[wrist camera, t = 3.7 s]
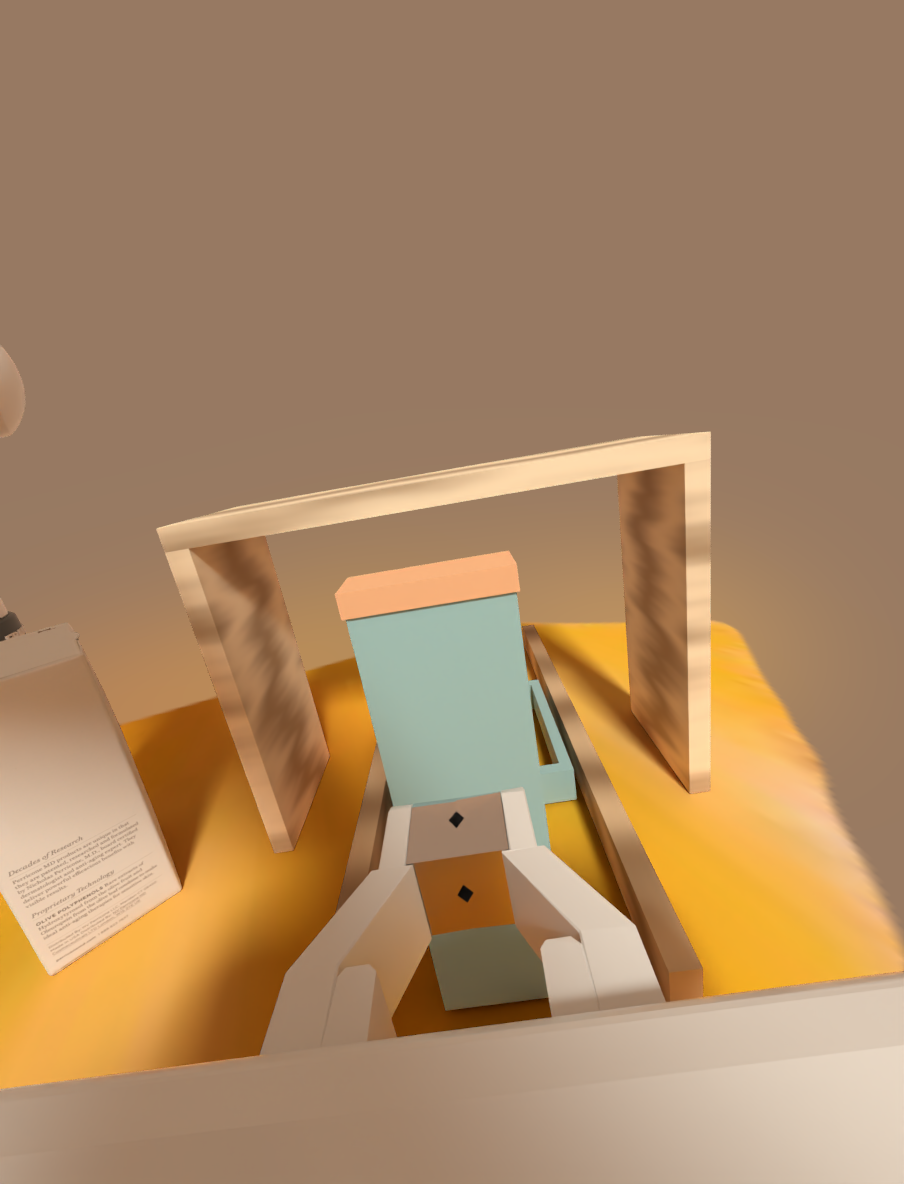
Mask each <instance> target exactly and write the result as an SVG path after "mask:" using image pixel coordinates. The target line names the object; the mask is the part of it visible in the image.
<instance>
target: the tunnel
mask: <svg viewBox="0 0 904 1184" xmlns="http://www.w3.org/2000/svg"><path fill="white" fill-rule="evenodd" d="M710 464H711V432H701V433H687V434H672V435H658V436H643V437H632V438H626V439H621V440H615V441H609V442H603V443H598V444H592V445H586V446H580V447H575V448H569V449H563V450H558V451H552V452H546V453H540V454H535V455H529V456H524V457H518V458H512V459H506V460H500V461H495V462H489V463H483V464H478V465H472V466H467V467H460V468H455V469H449V470H443V471H438V472H432V473H426V474H420V475H415V476H409V477H404V478H398V479H392V480H386V481H381V482H375V483H369V484H363V485H358V486H352V487H346V488H341V489H335V490H329V491H323V492H318V493H312V494H307V495H301V496H295V497H289V498H283V499H278V500H272V501H266V502H261V503H255V504H249V505H244V506H238V507H234V508H231V509H227V510H223V511H220V512H216V513H212V514H208V515H205V516H201V517H197V518H194V519H190V520H186V521H183V522H179V523H175V524H172V525H167V526H164V527H160V528H157V532H158V535H159V538H160V540H161V543H162V546H163V549H164V551H165V554H166V557H167V559H168V562H169V565H170V568H171V570H172V573H173V576H174V579H175V582H176V584H177V587H178V590H179V592H180V595H181V598H182V601H183V604H184V606H185V609H186V611H187V615H188V617H189V620H190V623H191V626H192V628H193V631H194V634H195V636H196V639H197V642H198V645H199V647H200V650H201V653H202V655H203V658H204V661H205V664H206V667H207V669H208V672H209V675H210V678H211V680H212V683H213V686H214V688H215V691H216V694H217V697H218V700H219V702H220V705H221V708H222V711H223V713H224V716H225V719H226V722H227V724H228V727H229V730H230V733H231V735H232V738H233V741H234V744H235V746H236V749H237V752H238V754H239V757H240V760H241V763H242V765H243V768H244V771H245V774H246V776H247V779H248V782H249V785H250V787H251V790H252V793H253V796H254V798H255V801H256V804H257V807H258V809H259V812H260V815H261V818H262V820H263V823H264V826H265V829H266V831H267V834H268V837H269V840H270V842H271V845H272V848H273V851H274V853H279V852H286V851H293V850H294V848H295V845H296V843H297V840H298V838H299V835H300V832H301V830H302V827H303V825H304V822H305V819H306V817H307V814H308V812H309V809H310V806H311V804H312V801H313V799H314V796H315V793H316V791H317V788H318V786H319V783H320V780H321V778H322V775H323V773H324V770H325V767H326V765H327V762H328V760H329V757H330V755H329V751H328V748H327V744H326V741H325V738H324V734H323V731H322V727H321V724H320V721H319V717H318V714H317V710H316V707H315V704H314V700H313V697H312V693H311V690H310V687H309V683H308V680H307V676H306V673H305V670H304V666H303V663H302V659H301V656H300V653H299V649H298V646H297V642H296V639H295V636H294V632H293V629H292V625H291V622H290V619H289V615H288V612H287V608H286V605H285V602H284V598H283V595H282V591H281V588H280V585H279V581H278V578H277V574H276V571H275V568H274V564H273V561H272V557H271V554H270V551H269V547H268V544H267V541H266V537H265V535H270V534H277V533H282V532H288V531H293V530H300V529H306V528H311V527H317V526H323V525H328V524H334V523H340V522H346V521H352V520H358V519H363V518H369V517H375V516H381V515H386V514H393V513H398V512H404V511H410V510H416V509H421V508H428V507H433V506H439V505H445V504H451V503H457V502H462V501H468V500H474V499H479V498H486V497H492V496H497V495H503V494H509V493H514V492H521V491H526V490H532V489H537V488H544V487H550V486H555V485H561V484H567V483H573V482H579V481H584V480H590V479H596V478H602V477H607V476H614V475H617V480H618V495H619V496H618V497H619V514H620V531H621V548H622V565H623V582H624V599H625V616H626V634H627V651H628V668H629V685H630V702H631V711H632V713H633V714H634V715H635V717H636V718H637V720H638V721H639V722H640V724H641V725H642V727H643V728H644V730H645V731H646V732H647V734H648V735H649V737H650V738H651V740H652V741H653V742H654V744H655V745H656V747H657V748H658V749H659V751H660V752H661V754H662V755H663V757H664V758H665V759H666V761H667V762H668V764H669V765H670V766H671V768H672V769H673V771H674V772H675V774H676V775H677V776H678V778H679V779H680V781H681V782H682V783H683V785H684V786H685V788H686V789H687V791H688V792H689V793H690V794H692V793H699V792H706V791H710V633H711V613H710V612H711V606H710V604H711V603H710V602H711V601H710V600H711V596H710V595H711V594H710V593H711V585H710V584H711V578H710V576H711V575H710V574H711V569H710V567H711V565H710V564H711V563H710V562H711V558H710V557H711V549H710V548H711V539H710V538H711V534H710V532H711V528H710V527H711V525H710V524H711V514H710V513H711V510H710V509H711V505H710V504H711V465H710ZM522 628H523V636H524V643H525V649H526V651H527V654H528V657H529V659H530V662H531V664H532V667H533V669H534V672H535V674H536V677H537V680H539V683H540V685H541V688H542V690H543V693H544V695H545V698H546V700H547V703H548V706H549V708H550V711H551V713H552V716H553V718H554V721H555V723H556V726H557V728H558V731H559V733H560V736H561V738H562V741H563V743H564V746H565V748H566V751H567V754H568V756H569V759H570V761H571V764H572V766H573V769H574V774H575V776H576V779H577V781H578V784H579V787H580V789H581V792H582V794H583V797H584V799H585V802H586V804H587V807H588V809H589V812H590V815H591V817H592V820H593V822H594V825H595V827H596V830H597V832H598V835H599V837H600V840H601V843H602V845H603V848H604V850H605V853H606V855H607V858H608V860H609V863H610V866H611V868H612V871H613V873H614V876H615V878H616V881H617V883H618V886H619V888H620V891H621V894H622V896H623V899H624V901H625V904H626V906H627V909H628V911H629V914H630V916H631V919H632V922H633V924H634V925H636V928H637V930H638V933H639V935H640V938H641V940H642V943H643V945H644V948H645V950H646V953H647V955H648V958H649V960H650V963H651V966H652V968H653V971H654V973H655V976H656V978H657V981H658V983H659V986H660V988H661V991H662V993H663V996H664V998H665V1001H666V1002H670V1001H678V1000H685V999H693V998H701V997H703V968H702V966H701V964H700V962H699V960H698V958H697V955H696V953H695V951H694V949H693V947H692V945H691V943H690V941H689V939H688V937H687V935H686V933H685V931H684V929H683V927H682V925H681V923H680V921H679V919H678V917H677V915H676V913H675V911H674V909H673V907H672V905H671V903H670V901H669V899H668V897H667V895H666V893H665V891H664V889H663V886H662V884H661V882H660V880H659V878H658V876H657V874H656V872H655V870H654V868H653V866H652V864H651V862H650V860H649V858H648V856H647V854H646V852H645V850H644V848H643V846H642V844H641V842H640V840H639V838H638V836H637V834H636V832H635V830H634V828H633V826H632V824H631V822H630V820H629V817H628V815H627V813H626V811H625V809H624V807H623V805H622V803H621V801H620V799H619V797H618V795H617V793H616V791H615V789H614V787H613V785H612V783H611V781H610V779H609V777H608V775H607V773H606V771H605V769H604V767H603V765H602V763H601V761H600V759H599V757H598V755H597V753H596V751H595V748H594V746H593V744H592V742H591V740H590V738H589V736H588V734H587V732H586V730H585V728H584V726H583V724H582V722H581V720H580V718H579V716H578V714H577V712H576V710H575V708H574V706H573V704H572V702H571V700H570V698H569V696H568V694H567V692H566V690H565V688H564V686H563V684H562V682H561V679H560V677H559V675H558V673H557V671H556V669H555V667H554V665H553V663H552V661H551V659H550V657H549V655H548V653H547V651H546V649H545V647H544V645H543V643H542V641H541V639H540V637H539V635H538V633H537V631H536V629H535V627H534V625H529V626H522ZM391 807H393V804H392V800H391V795H390V791H389V787H388V783H387V779H386V775H385V771H384V767H383V763H382V759H381V756H380V752H379V748H378V744H377V743H376V748H375V752H374V756H373V760H372V764H371V768H370V772H369V776H368V781H367V785H366V789H365V793H364V797H363V801H362V805H361V810H360V814H359V818H358V822H357V826H356V830H355V834H354V839H353V843H352V847H351V851H350V855H349V859H348V863H347V867H346V872H345V876H344V880H343V884H342V888H341V892H340V896H339V901H338V905H337V909H336V913H337V911H338V910H339V909H340V908H341V907H342V905H343V904H344V903H345V902H346V901H347V899H348V898H349V897H350V896H351V895H352V893H353V892H354V891H355V890H356V889H357V888H358V886H359V885H360V884H361V883H362V882H363V880H364V879H365V878H366V877H367V876H368V874H369V873H370V872H371V871H373V870H378V869H379V863H380V857H381V852H382V846H383V840H384V834H385V828H386V823H387V817H388V812H389V810H390V808H391ZM336 913H335V914H336Z"/></svg>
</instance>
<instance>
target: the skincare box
mask: <svg viewBox="0 0 904 1184" xmlns="http://www.w3.org/2000/svg"><path fill="white" fill-rule="evenodd" d="M79 636H80V634H79V633H77V632H74V630H73V628H72V626H71V625H70V624H69V623H63V624H59V625H56V626H52V627H49V628H45V629H42V630H38V631H35V632H31V633H28V634H24V635H21V636H18V637H14V638H11V639H7V640H4V641H0V892H1V893H2V895H3V897H4V898H5V900H6V902H7V904H8V905H9V907H10V909H11V910H12V912H13V914H14V916H15V917H16V919H17V921H18V923H19V924H20V926H21V928H22V930H23V931H24V933H25V935H26V936H27V938H28V940H29V942H30V944H31V945H32V947H33V949H34V951H35V952H36V954H37V956H38V958H39V959H40V961H41V963H42V964H43V966H44V968H45V969H46V971H47V973H48V974H49V975H51V976H53V975H55V974H57V973H58V972H60V971H61V970H62V969H64V968H65V967H67V966H68V965H70V964H71V963H73V962H74V961H76V960H77V959H79V958H80V957H82V956H83V955H85V954H86V953H88V952H89V951H91V950H92V949H94V948H95V947H97V946H98V945H100V944H101V943H103V942H104V941H106V940H107V939H109V938H110V937H112V936H113V935H115V934H116V933H118V932H119V931H121V930H122V929H124V928H125V927H127V926H128V925H130V924H131V923H133V922H134V921H136V920H137V919H139V918H140V917H142V916H143V915H145V914H146V913H148V912H149V911H151V910H152V909H154V908H155V907H157V906H158V905H160V904H161V903H163V902H164V901H166V900H167V899H169V898H170V897H172V896H173V895H175V894H176V893H178V892H179V891H181V889H182V886H181V882H180V879H179V876H178V874H177V871H176V868H175V865H174V862H173V860H172V857H171V854H170V852H169V849H168V846H167V843H166V841H165V838H164V835H163V833H162V830H161V827H160V825H159V822H158V819H157V817H156V814H155V812H154V809H153V806H152V804H151V801H150V799H149V797H148V794H147V792H146V789H145V787H144V784H143V782H142V779H141V777H140V774H139V772H138V769H137V767H136V765H135V762H134V760H133V757H132V755H131V752H130V750H129V747H128V745H127V743H126V740H125V738H124V735H123V733H122V730H121V728H120V725H119V723H118V721H117V719H116V717H115V714H114V712H113V710H112V708H111V706H110V703H109V701H108V699H107V697H106V695H105V693H104V690H103V688H102V686H101V684H100V682H99V680H98V678H97V676H96V674H95V672H94V670H93V668H92V666H91V664H90V661H89V660H88V658H87V655H86V653H85V651H84V649H83V648H82V645H81V644H80V642H79V640H78V638H79Z"/></svg>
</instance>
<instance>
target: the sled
mask: <svg viewBox="0 0 904 1184" xmlns="http://www.w3.org/2000/svg"><path fill="white" fill-rule="evenodd" d="M519 591H520V586H519V578H518V570H517V564H516V562H515V561H514V559H513V557H512V556H511V554H510V552H509V551H504V552H498V553H492V554H486V555H480V556H474V557H468V558H462V559H456V560H450V561H444V562H438V563H432V564H426V565H420V566H414V567H408V568H402V569H396V570H390V571H384V572H378V573H372V574H366V575H360V576H354V577H348V578H347V580H346V581H345V582H344V583H343V585H342V586H341V587H340V588H339V590H338V591H337V592H336V594H335V597H336V601H337V605H338V609H339V613H340V617H341V620H346V622H347V626H348V630H349V634H350V638H351V642H352V646H353V650H354V653H355V657H356V661H357V665H358V669H359V673H360V677H361V681H362V685H363V689H364V693H365V697H366V701H367V704H368V708H369V712H370V716H371V720H372V724H373V728H374V732H375V736H376V740H377V744H378V748H379V752H380V756H381V759H382V763H383V767H384V771H385V775H386V779H387V783H388V787H389V791H390V795H391V800H392V804H393V807H395V806H403V805H410V804H415V803H422V802H430V801H438V800H446V799H453V798H461V797H467V796H473V795H479V794H485V793H492V792H498V791H500V793H501V790H506V789H512V788H518V787H523V788H524V790H525V794H526V799H527V803H528V808H529V812H530V816H531V821H532V825H533V830H534V834H535V838H536V843H537V846H542V845H545V846H546V847H547V848H548V849H549V850H550V851H551V849H550V842H549V834H548V826H547V819H546V811H545V804H548V803H555V802H562V801H569V800H576V799H577V796H576V786H575V777H574V769H573V766H572V764H571V761H570V759H569V756H568V754H567V751H566V748H565V746H564V743H563V741H562V738H561V736H560V733H559V731H558V728H557V726H556V723H555V721H554V718H553V716H552V713H551V711H550V708H549V706H548V703H547V700H546V698H545V695H544V693H543V690H542V688H541V685H540V683H539V680H531V681H528V676H527V668H526V661H525V653H524V646H523V638H522V631H521V623H520V616H519V608H518V600H517V593H516V592H519ZM532 709H535V712H536V715H537V718H538V721H539V724H540V727H541V730H542V733H543V736H544V739H545V742H546V745H547V748H548V751H549V754H550V757H551V760H552V763H553V764H550V765H543V766H539V759H538V751H537V744H536V736H535V728H534V721H533V713H532ZM501 798H502V797H501ZM431 937H432V939H431V941H430V943H429V948H430V952H431V956H432V960H433V964H434V967H435V971H436V975H437V979H438V983H439V987H440V991H441V995H442V999H443V1003H444V1007H445V1011H446V1010H454V1009H462V1008H470V1007H478V1006H486V1005H494V1004H502V1003H510V1002H518V1001H525V1000H533V999H541V998H548V992H547V986H546V980H545V974H544V968H543V962H542V961H541V960H540V958H539V957H538V956H537V954H536V953H535V952H534V950H533V949H532V948H531V946H530V945H529V944H528V942H527V941H526V939H525V938H524V937H523V935H522V934H521V933H520V931H519V930H518V929H517V927H516V925H515V924H510V925H500V926H491V927H482V928H473V929H467V930H461V931H456V932H450V933H444V934H438V935H433V936H431Z"/></svg>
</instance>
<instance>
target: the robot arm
mask: <svg viewBox="0 0 904 1184" xmlns="http://www.w3.org/2000/svg"><path fill="white" fill-rule="evenodd" d="M24 409H25V391H24V386H23V382H22V379H21V377H20V374H19V372H18V370H17V367H16V366H15V364H14V362H13V361H12V359H11V358H10V356H9V355H8V354H7V352H6V351H5V349H4V348H3V347H2V346H1V345H0V438H2V437H6V436H9V435H12V433H13V432H14V431H15V430H16V428H17V427H18V425H19V423H20V421H21V419H22V417H23V413H24ZM24 634H26V630H25V628H24V626H23V624H21V623H20V622H19V620H18V618H17V616H16V614H15V613H12V612H9V611H7V610H6V608H5V606H4V603H3V601H2V599H1V597H0V641H4V640H7V639H11V638H14V637H18V636H21V635H24ZM501 797H502V798H501ZM510 924H515V925H516V927H517V929H518V930H519V931H520V933H521V934H522V935H523V937H524V938H525V939H526V941H527V942H528V944H529V945H530V946H531V948H532V949H533V950H534V952H535V953H536V954H537V956H538V957H539V958H540V960H541V961H542V962H543V968H544V974H545V980H546V986H547V992H548V998H549V1004H550V1010H551V1016H552V1017H549V1018H541V1019H534V1020H526V1021H519V1022H511V1023H503V1024H496V1025H488V1026H480V1027H472V1028H465V1029H457V1030H449V1031H442V1032H434V1033H426V1034H419V1035H411V1036H403V1037H397V1035H396V1032H395V1029H394V1026H393V1023H392V1020H391V1018H392V1016H393V1014H394V1012H395V1010H396V1008H397V1006H398V1004H399V1002H400V1000H401V998H402V996H403V994H404V992H405V990H406V988H407V987H408V985H409V983H410V981H411V979H412V977H413V975H414V973H415V971H416V969H417V967H418V965H419V963H420V961H421V959H422V957H423V955H424V953H425V951H426V949H427V947H428V945H429V943H430V941H431V939H432V937H431V936H433V935H438V934H444V933H450V932H456V931H461V930H467V929H473V928H482V927H491V926H500V925H510ZM0 1184H904V971H900V972H892V973H885V974H877V975H869V976H862V977H854V978H846V979H839V980H831V981H823V982H816V983H808V984H800V985H793V986H785V987H777V988H770V989H762V990H754V991H747V992H739V993H731V994H724V995H716V996H708V997H701V998H693V999H685V1000H678V1001H670V1002H666V1001H665V998H664V996H663V993H662V991H661V988H660V986H659V983H658V981H657V978H656V976H655V973H654V971H653V968H652V966H651V963H650V960H649V958H648V955H647V953H646V950H645V948H644V945H643V943H642V940H641V938H640V935H639V933H638V930H637V928H636V925H634V924H633V923H632V922H631V921H630V920H629V919H628V918H627V917H625V916H624V915H623V914H622V913H621V912H620V911H619V910H617V909H616V908H615V907H614V906H613V905H612V904H611V903H609V902H608V901H607V900H606V899H605V898H604V897H603V896H601V895H600V894H599V893H598V892H597V891H596V890H595V889H594V888H592V887H591V886H590V885H589V884H588V883H587V882H586V881H584V880H583V879H582V878H581V877H580V876H579V875H578V874H576V873H575V872H574V871H573V870H572V869H571V868H570V867H568V866H567V865H566V864H565V863H564V862H563V861H562V860H560V859H559V858H558V857H557V856H556V855H555V854H554V853H553V852H551V851H550V850H549V849H548V848H547V847H546V846H545V845H542V846H537V843H536V838H535V834H534V830H533V825H532V821H531V816H530V812H529V808H528V803H527V799H526V794H525V790H524V788H523V787H518V788H512V789H506V790H501V793H500V791H498V792H492V793H485V794H479V795H473V796H467V797H461V798H453V799H446V800H438V801H430V802H422V803H415V804H410V805H403V806H395V807H391V808H390V810H389V812H388V817H387V823H386V828H385V834H384V840H383V846H382V852H381V857H380V863H379V869H378V870H373V871H371V872H370V873H369V874H368V876H367V877H366V878H365V879H364V880H363V882H362V883H361V884H360V885H359V886H358V888H357V889H356V890H355V891H354V892H353V893H352V895H351V896H350V897H349V898H348V899H347V901H346V902H345V903H344V904H343V905H342V907H341V908H340V909H339V910H338V911H337V913H336V914H335V915H334V916H333V917H332V918H331V920H330V921H329V922H328V923H327V924H326V926H325V927H324V928H323V929H322V930H321V932H320V933H319V934H318V935H317V936H316V938H315V939H314V940H313V941H312V942H311V943H310V945H309V946H308V947H307V948H306V949H305V951H304V952H303V953H302V954H301V955H300V957H299V958H298V959H297V960H296V961H295V963H294V964H293V965H292V966H291V967H290V968H289V970H288V971H287V972H286V974H285V977H284V980H283V983H282V986H281V989H280V992H279V995H278V999H277V1002H276V1005H275V1008H274V1011H273V1014H272V1017H271V1020H270V1024H269V1027H268V1030H267V1033H266V1036H265V1039H264V1042H263V1046H262V1049H261V1052H260V1055H258V1056H250V1057H243V1058H235V1059H227V1060H220V1061H212V1062H204V1063H197V1064H189V1065H182V1066H174V1067H166V1068H159V1069H151V1070H143V1071H136V1072H128V1073H121V1074H113V1075H105V1076H98V1077H90V1078H82V1079H75V1080H67V1081H59V1082H52V1083H44V1084H37V1085H29V1086H21V1087H14V1088H6V1089H0Z"/></svg>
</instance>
